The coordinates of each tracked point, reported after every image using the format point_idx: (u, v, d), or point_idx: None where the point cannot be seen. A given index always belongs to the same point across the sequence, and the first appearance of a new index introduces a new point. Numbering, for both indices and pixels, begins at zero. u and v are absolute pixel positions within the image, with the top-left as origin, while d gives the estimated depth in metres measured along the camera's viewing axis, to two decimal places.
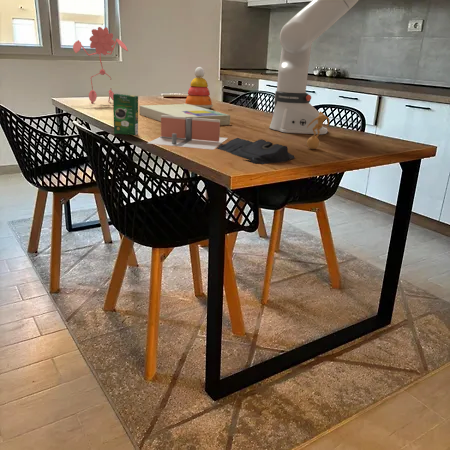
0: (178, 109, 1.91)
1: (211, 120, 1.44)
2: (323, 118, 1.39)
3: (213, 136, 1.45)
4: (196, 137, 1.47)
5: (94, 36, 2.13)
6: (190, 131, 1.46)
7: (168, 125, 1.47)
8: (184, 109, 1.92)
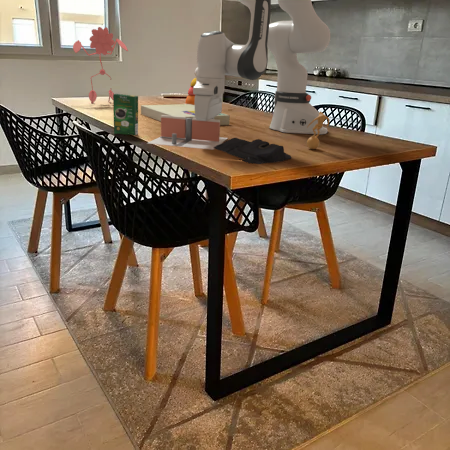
0: (178, 109, 1.91)
1: (211, 120, 1.44)
2: (323, 118, 1.39)
3: (213, 136, 1.45)
4: (196, 137, 1.47)
5: (94, 36, 2.13)
6: (190, 131, 1.46)
7: (168, 125, 1.47)
8: (184, 109, 1.92)
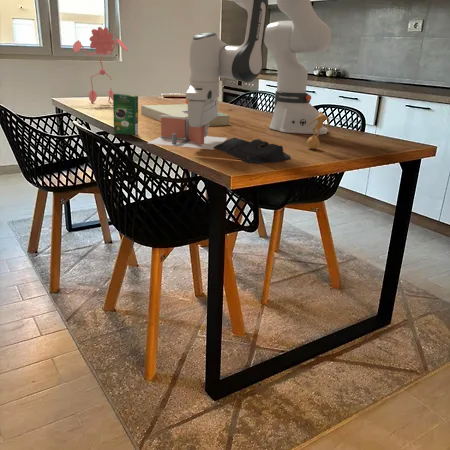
0: (178, 109, 1.91)
1: None
2: (323, 118, 1.39)
3: (198, 138, 1.40)
4: (190, 138, 1.45)
5: (94, 36, 2.13)
6: None
7: (168, 125, 1.47)
8: (185, 109, 1.92)
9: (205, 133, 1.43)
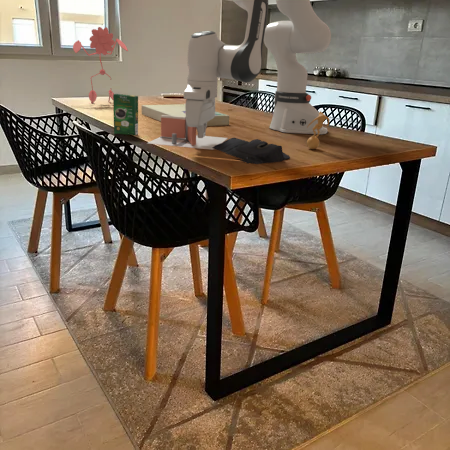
0: (179, 109, 1.91)
1: None
2: (323, 118, 1.39)
3: (191, 138, 1.40)
4: (188, 138, 1.45)
5: (94, 36, 2.13)
6: None
7: (168, 125, 1.47)
8: (185, 109, 1.92)
9: (202, 134, 1.39)
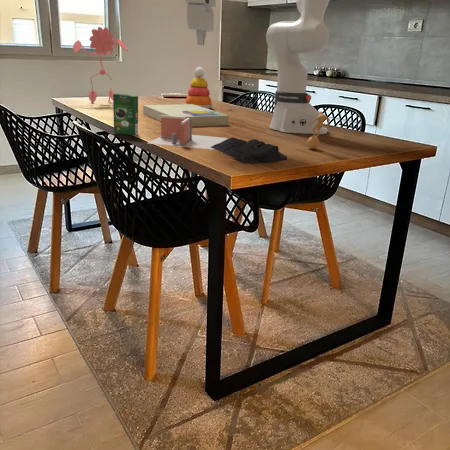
0: (179, 109, 1.91)
1: None
2: (323, 118, 1.39)
3: None
4: None
5: (94, 36, 2.13)
6: (190, 131, 1.46)
7: (168, 125, 1.47)
8: (185, 109, 1.92)
9: (201, 41, 1.54)
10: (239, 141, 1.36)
